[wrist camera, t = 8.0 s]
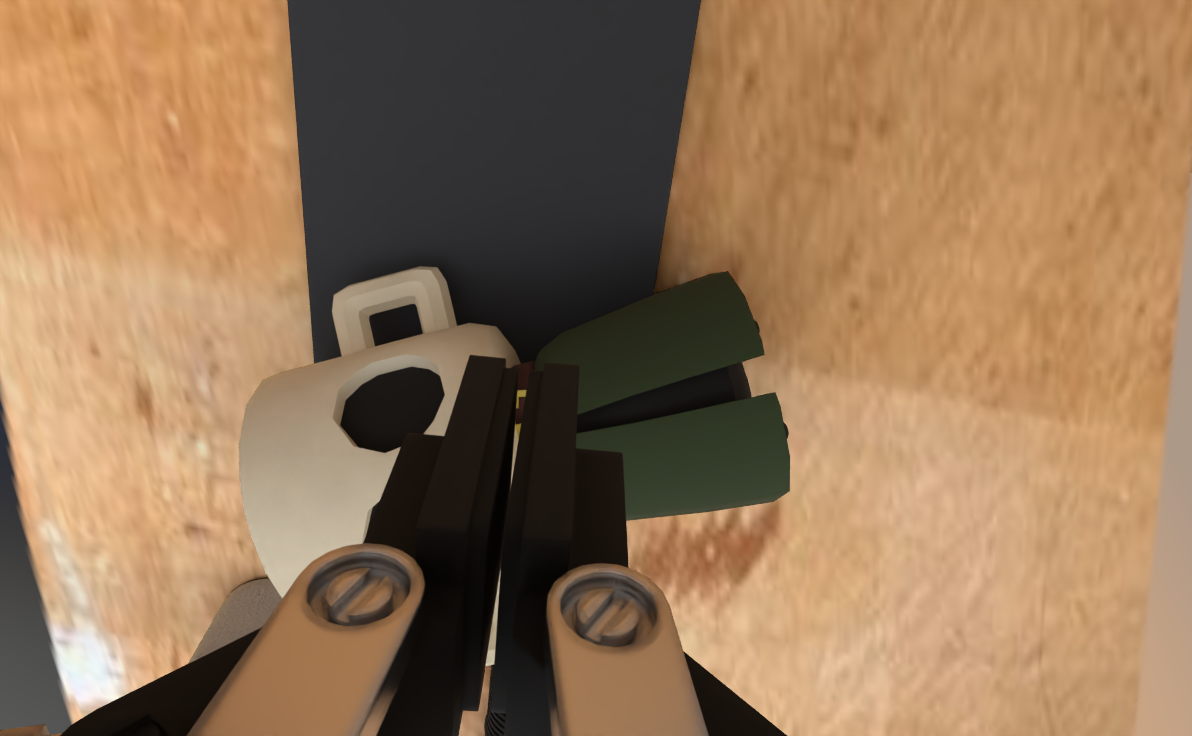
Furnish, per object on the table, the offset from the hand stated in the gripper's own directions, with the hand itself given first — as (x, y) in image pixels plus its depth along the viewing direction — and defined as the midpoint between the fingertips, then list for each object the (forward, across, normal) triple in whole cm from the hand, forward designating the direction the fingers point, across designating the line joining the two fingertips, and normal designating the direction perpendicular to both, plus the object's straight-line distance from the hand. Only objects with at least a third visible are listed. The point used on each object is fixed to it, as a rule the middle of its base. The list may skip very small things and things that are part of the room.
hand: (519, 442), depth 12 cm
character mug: (+8, -6, +3) cm, 11 cm away
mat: (+11, +2, 0) cm, 11 cm away
